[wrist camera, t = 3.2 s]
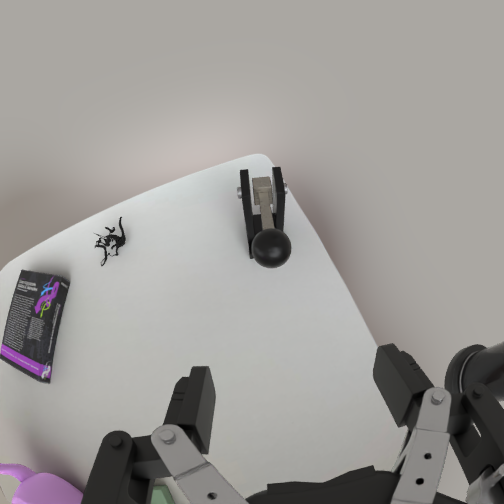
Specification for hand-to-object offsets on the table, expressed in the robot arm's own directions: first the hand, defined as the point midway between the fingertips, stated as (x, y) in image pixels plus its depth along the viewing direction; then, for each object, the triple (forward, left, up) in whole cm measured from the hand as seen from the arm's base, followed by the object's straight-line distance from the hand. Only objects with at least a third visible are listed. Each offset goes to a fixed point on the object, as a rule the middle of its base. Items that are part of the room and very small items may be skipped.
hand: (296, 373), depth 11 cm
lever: (-4, -15, -12) cm, 20 cm away
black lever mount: (-6, -21, -23) cm, 32 cm away
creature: (+20, -29, -24) cm, 42 cm away
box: (+40, -19, -24) cm, 50 cm away
